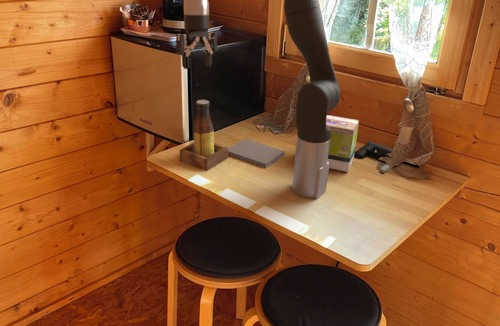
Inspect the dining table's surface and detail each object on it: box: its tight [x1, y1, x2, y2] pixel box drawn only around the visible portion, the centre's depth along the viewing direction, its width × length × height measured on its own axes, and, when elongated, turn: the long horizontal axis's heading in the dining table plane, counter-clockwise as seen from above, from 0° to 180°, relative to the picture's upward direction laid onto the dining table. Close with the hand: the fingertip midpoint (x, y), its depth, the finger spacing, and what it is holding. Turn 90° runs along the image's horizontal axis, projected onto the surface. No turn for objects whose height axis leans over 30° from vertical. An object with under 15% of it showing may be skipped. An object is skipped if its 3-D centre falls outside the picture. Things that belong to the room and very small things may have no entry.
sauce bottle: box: [193, 99, 215, 157], centre depth 153 cm, size 7×6×20 cm
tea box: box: [326, 114, 360, 173], centre depth 157 cm, size 15×10×15 cm, turn 69°
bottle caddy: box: [179, 142, 229, 172], centre depth 157 cm, size 11×11×4 cm
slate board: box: [228, 138, 286, 169], centre depth 162 cm, size 16×12×2 cm
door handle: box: [354, 140, 394, 174], centre depth 162 cm, size 3×20×16 cm
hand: (197, 67), depth 151 cm, fingers open, 8 cm apart
